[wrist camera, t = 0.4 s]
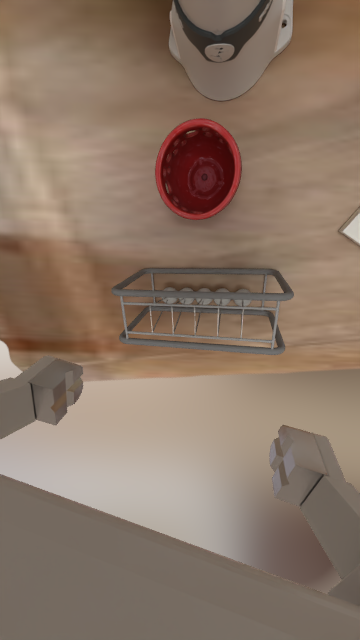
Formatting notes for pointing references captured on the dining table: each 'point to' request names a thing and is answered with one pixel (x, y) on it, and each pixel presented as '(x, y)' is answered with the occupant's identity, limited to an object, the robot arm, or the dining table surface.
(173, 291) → the newton's cradle
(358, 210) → the pointer dial board
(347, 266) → the dining table surface
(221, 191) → the plant pot
